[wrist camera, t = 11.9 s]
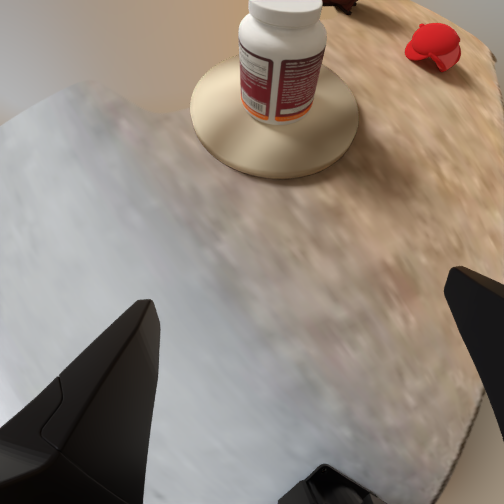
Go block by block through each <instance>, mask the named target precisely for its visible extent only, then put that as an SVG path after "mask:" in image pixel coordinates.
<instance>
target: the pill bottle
mask: <svg viewBox="0 0 504 504" xmlns="http://www.w3.org/2000/svg"><path fill="white" fill-rule="evenodd" d="M322 5H323V3H322V0H249V12H250V13H249V14H248V15H247V16H245V17H244V19H243V20H242V21H241V23H240V26H239V59H240V86H241V100H242V104H243V106H244V108H245V110H246V111H247V112H248V113H249V114H250V115H251V116H252V117H253V118H255V119H256V120H258V121H261V122H263V123H267V124H272V125H286V124H291V123H295V122H297V121H299V120H301V119H302V118H304V117H305V116H306V115H307V114H308V113H309V111H310V109H311V107H312V104H313V100H314V95H315V91H316V86H317V82H318V78H319V73H320V69H321V65H322V60H323V56H324V51H325V47H326V41H327V32H326V29H325V27H324V25H323V24H322V23H321V21H320V20H319V19H320V15H321V10H322Z"/></svg>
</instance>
